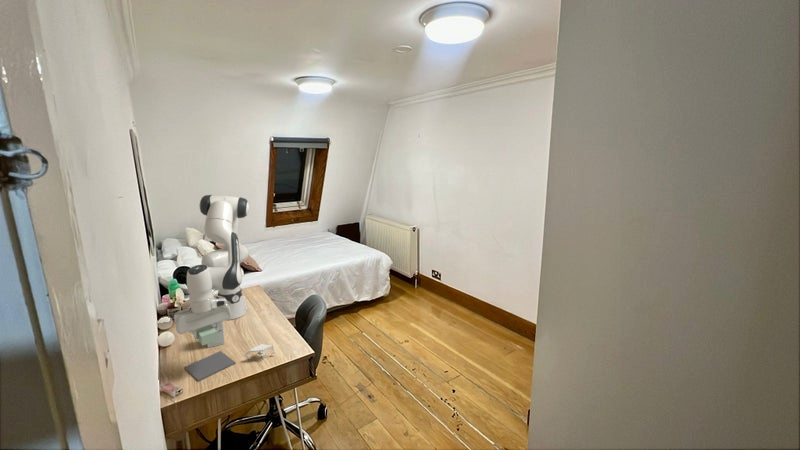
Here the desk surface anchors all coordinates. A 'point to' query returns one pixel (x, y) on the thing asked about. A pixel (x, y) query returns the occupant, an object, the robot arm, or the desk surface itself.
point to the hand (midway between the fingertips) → (206, 334)
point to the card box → (207, 334)
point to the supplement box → (220, 336)
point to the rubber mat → (209, 365)
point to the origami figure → (260, 349)
